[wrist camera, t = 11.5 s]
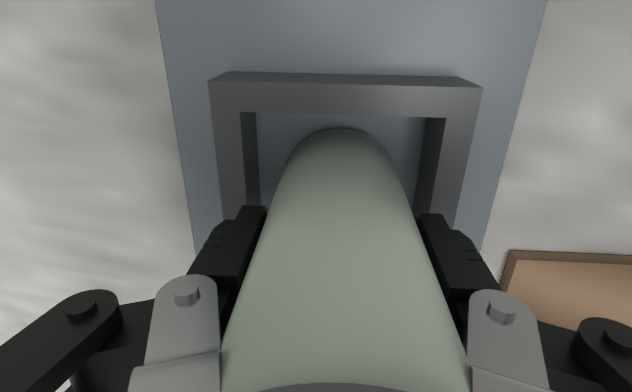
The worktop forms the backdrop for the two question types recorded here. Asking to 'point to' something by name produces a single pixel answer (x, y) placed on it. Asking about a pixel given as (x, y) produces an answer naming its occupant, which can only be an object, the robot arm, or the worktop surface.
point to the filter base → (346, 94)
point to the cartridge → (341, 284)
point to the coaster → (571, 286)
